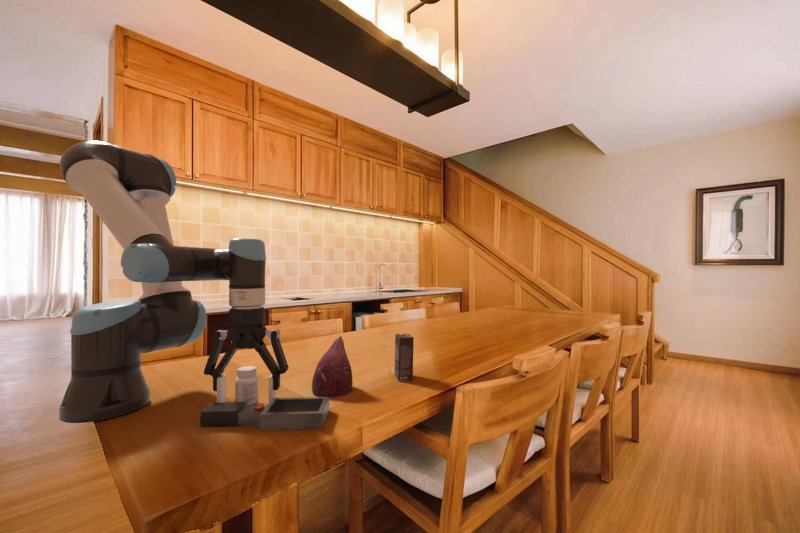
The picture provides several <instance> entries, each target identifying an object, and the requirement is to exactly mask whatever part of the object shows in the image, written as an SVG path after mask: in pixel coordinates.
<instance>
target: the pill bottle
mask: <svg viewBox="0 0 800 533" xmlns="http://www.w3.org/2000/svg"><path fill="white" fill-rule="evenodd" d="M234 402H246V405H256V404H258V403H259V376H258V375H257V367H256V366H253V365H250V366H249V365H247V366H242V367H238V368H237V370H236V377H235V380H234Z"/></svg>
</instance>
